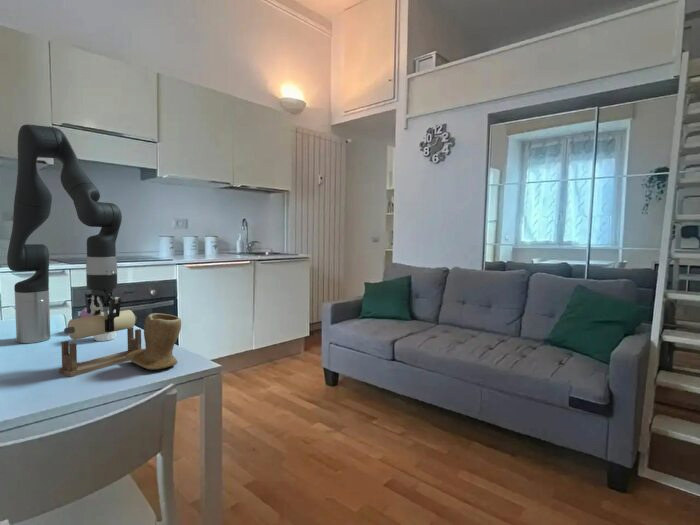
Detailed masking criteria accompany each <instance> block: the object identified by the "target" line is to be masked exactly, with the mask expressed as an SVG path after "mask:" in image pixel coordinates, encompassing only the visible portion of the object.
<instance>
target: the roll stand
mask: <svg viewBox="0 0 700 525" xmlns="http://www.w3.org/2000/svg"><path fill="white" fill-rule="evenodd" d="M126 330H127V331H126V333H127V350H124V351H121V352H120V351H119V352H116V353H114V354H109V355H105V356H102V357H99V358H94V359H89V360H87V361H82V362H79V363H78V359H77V358H78V356H77V354H78V353H77V352H78V351H77V350H78V349H77V343H74V342H72V343H69V341H67V340H63V341H61V344H60V346H61V347H60V348H61V367H60V368H59V367H58V373H59V374H61V375H64V376H68V377H69V378H72V377H76V376H79V375H84V374H87V373H91V372H93V371H97V370H101V369H104V368H107V367H112V366H115V365H118V364H122V363H125V362H129V361H130V360H129V359H127V358H126V355H127V354H128V353H130V352H132V351H135V350H139V349H142V329H140V328H139V329H134V327H132V328H129V329H126Z"/></svg>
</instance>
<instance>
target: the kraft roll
mask: <svg viewBox="0 0 700 525" xmlns="http://www.w3.org/2000/svg"><path fill="white" fill-rule="evenodd" d="M115 313H116V312H115ZM108 315H109V313H108ZM137 320H138V318H137V315H135V313H134V312H133V311H132V310H131V309H124V310H120V315H119V317H115V318H114V331H116V332H119V331H123V330H127V329H129V328H134V327H135V324H136V321H137ZM63 330H64V331H63V332H64V334H65V335H69V337H70V339H71V340H74V341H76V340H81V339H85V338H90V337H94V336H95V335H100V334H105V333H110V332H105V316H104V314H101V315H95V316H89V317H83V318H80V317H77V318H73V319H70V320H69V321H68V323H67V327H65V328H64V329H63ZM114 331H112V332H114Z"/></svg>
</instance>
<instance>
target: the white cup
mask: <svg viewBox="0 0 700 525" xmlns="http://www.w3.org/2000/svg"><path fill="white" fill-rule="evenodd" d="M114 311H115V312H116V310H114ZM107 312H108V313H109V311H107ZM101 314H104V313H103V312H102V313H101ZM117 332H118V331H114V332H110V333H105V334H100V335H95V336H93V340H94V341H95V340H96V342H107V340H108V341H112V340H115V339H116V338H117Z"/></svg>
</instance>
